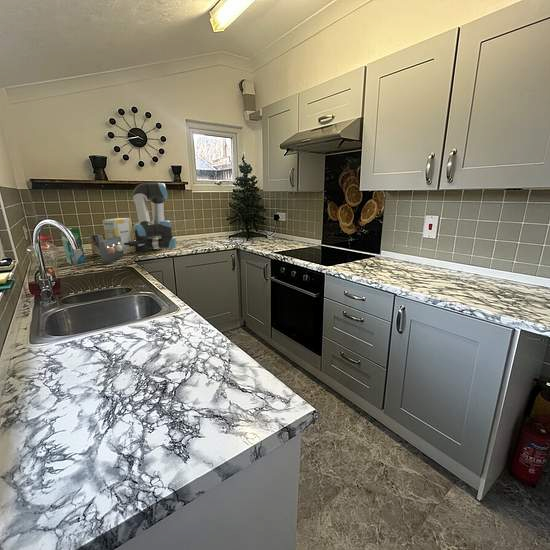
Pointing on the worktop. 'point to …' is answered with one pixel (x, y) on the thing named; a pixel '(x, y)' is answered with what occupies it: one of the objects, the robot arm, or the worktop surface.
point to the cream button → (118, 248)
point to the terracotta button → (111, 250)
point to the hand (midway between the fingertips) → (120, 243)
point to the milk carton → (70, 253)
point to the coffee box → (96, 243)
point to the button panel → (104, 246)
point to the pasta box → (120, 231)
